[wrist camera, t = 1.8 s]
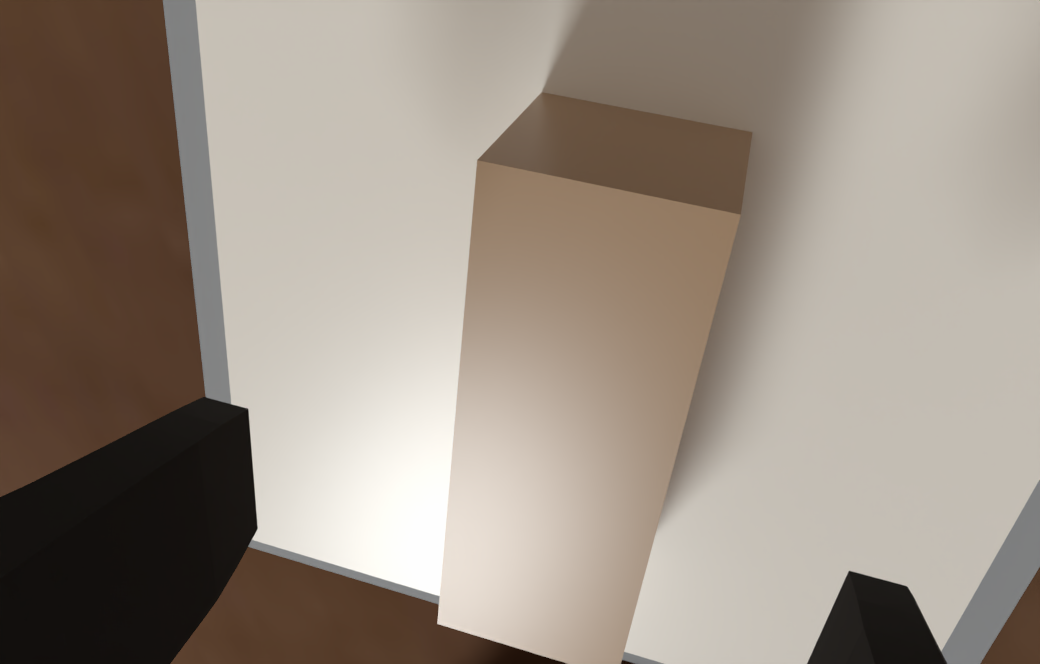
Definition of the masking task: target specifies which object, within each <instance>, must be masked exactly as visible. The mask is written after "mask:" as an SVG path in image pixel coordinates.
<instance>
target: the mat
mask: <svg viewBox="0 0 1040 664" xmlns="http://www.w3.org/2000/svg"><path fill="white" fill-rule="evenodd" d="M163 5H164V14H165V24H166V33H167V42H168V51H169V61H170V70H171V79H172V88H173V98H174V107H175V116H176V125H177V135H178V144H179V153H180V162H181V172H182V181H183V190H184V199H185V209H186V218H187V227H188V237H189V246H190V255H191V264H192V274H193V283H194V292H195V301H196V311H197V320H198V329H199V338H200V348H201V357H202V366H203V375H204V385H205V394H206V398H210V399H214V400H218V401H221V402H225V403H229V404H231V395H230V384H229V372H228V361H227V350H226V339H225V327H224V316H223V305H222V294H221V282H220V271H219V260H218V249H217V237H216V226H215V215H214V204H213V192H212V181H211V170H210V159H209V147H208V136H207V125H206V114H205V102H204V91H203V80H202V68H201V57H200V46H199V35H198V23H197V12H196V1H195V0H163ZM248 547H251V548H254V549H258V550H261V551H264V552H268V553H271V554H274V555H278V556H281V557H284V558H288V559H291V560H294V561H297V562H301V563H304V564H307V565H311V566H314V567H317V568H321V569H324V570H327V571H331V572H334V573H337V574H340V575H344V576H347V577H350V578H354V579H357V580H360V581H364V582H367V583H370V584H374V585H377V586H380V587H383V588H387V589H390V590H393V591H397V592H400V593H403V594H407V595H410V596H413V597H417V598H420V599H423V600H426V601H430V602H433V603H436V604H439V599H440V596H437V595H434V594H431V593H427V592H424V591H421V590H417V589H414V588H411V587H407V586H404V585H401V584H397V583H394V582H391V581H387V580H384V579H381V578H377V577H374V576H371V575H367V574H364V573H361V572H357V571H354V570H351V569H347V568H344V567H341V566H337V565H334V564H331V563H327V562H324V561H321V560H318V559H314V558H311V557H308V556H304V555H301V554H298V553H294V552H291V551H288V550H284V549H281V548H278V547H274V546H271V545H268V544H264V543H261V542H258V541H254V540H251V542H250V544H249V546H248ZM1039 567H1040V480H1039V482H1038V483H1037V485H1036V487H1035V488H1034V490H1033V492H1032V494H1031V495H1030V497H1029V499H1028V501H1027V502H1026V504H1025V506H1024V508H1023V509H1022V511H1021V513H1020V515H1019V516H1018V518H1017V520H1016V522H1015V523H1014V525H1013V527H1012V529H1011V530H1010V532H1009V534H1008V536H1007V537H1006V539H1005V541H1004V543H1003V544H1002V546H1001V548H1000V550H999V551H998V553H997V555H996V557H995V558H994V560H993V562H992V564H991V565H990V567H989V569H988V571H987V572H986V574H985V576H984V578H983V579H982V581H981V583H980V585H979V586H978V588H977V590H976V592H975V593H974V595H973V597H972V599H971V600H970V602H969V604H968V606H967V607H966V609H965V611H964V613H963V614H962V616H961V618H960V620H959V621H958V623H957V625H956V627H955V628H954V630H953V632H952V634H951V635H950V637H949V639H948V641H947V642H946V644H945V646H944V648H943V649H942V651H941V652H942V654H943V656H944V658H945V660H946V662H947V664H980V663H981V661H982V660H983V658H984V656H985V655H986V653H987V651H988V650H989V648H990V647H991V645H992V643H993V642H994V640H995V639H996V637H997V635H998V634H999V632H1000V630H1001V629H1002V627H1003V626H1004V624H1005V622H1006V621H1007V619H1008V617H1009V616H1010V614H1011V613H1012V611H1013V609H1014V608H1015V606H1016V604H1017V603H1018V601H1019V600H1020V598H1021V596H1022V595H1023V593H1024V591H1025V590H1026V588H1027V587H1028V585H1029V583H1030V582H1031V580H1032V578H1033V577H1034V575H1035V574H1036V572H1037V570H1038V569H1039ZM622 660H625V661H628V662H632V663H635V664H663V663H660V662H657V661H653V660H650V659H647V658H644V657H640V656H637V655H634V654H630V653H627V652H624V654H623V658H622Z"/></svg>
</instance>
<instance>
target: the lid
mask: <svg viewBox="0 0 1040 664" xmlns="http://www.w3.org/2000/svg"><path fill="white" fill-rule="evenodd" d="M195 1H196V12H197V23H198V35H199V46H200V57H201V68H202V80H203V91H204V102H205V114H206V125H207V136H208V147H209V159H210V170H211V181H212V192H213V204H214V215H215V226H216V237H217V249H218V260H219V271H220V282H221V294H222V305H223V316H224V327H225V339H226V350H227V361H228V372H229V384H230V395H231V404H232V405H236V406H240V407H244V408H247V409H248V411H249V424H250V437H251V449H252V462H253V475H254V488H255V501H256V513H257V526H258V529H257V531H256V533H255V535H254V537H253V538H252V540H254V541H258V542H261V543H264V544H268V545H271V546H274V547H278V548H281V549H284V550H288V551H291V552H294V553H298V554H301V555H304V556H308V557H311V558H314V559H318V560H321V561H324V562H327V563H331V564H334V565H337V566H341V567H344V568H347V569H351V570H354V571H357V572H361V573H364V574H367V575H371V576H374V577H377V578H381V579H384V580H387V581H391V582H394V583H397V584H401V585H404V586H407V587H411V588H414V589H417V590H421V591H424V592H427V593H431V594H434V595H437V596H440V599H439V611H438V623H437V624H440V625H443V626H446V627H450V628H453V629H456V630H459V631H463V632H466V633H469V634H472V635H476V636H479V637H482V638H485V639H489V640H492V641H495V642H499V643H502V644H505V645H508V646H512V647H515V648H518V649H521V650H525V651H528V652H531V653H534V654H538V655H541V656H544V657H547V658H551V659H554V660H557V661H561V662H564V663H567V664H621V661H622V658H623V654H624V652H627V653H630V654H634V655H637V656H640V657H644V658H647V659H650V660H653V661H657V662H660V663H663V664H807V663H808V660H809V658H810V656H811V654H812V652H813V649H814V647H815V645H816V643H817V640H818V638H819V636H820V634H821V632H822V629H823V627H824V625H825V623H826V620H827V618H828V616H829V614H830V612H831V609H832V607H833V605H834V603H835V600H836V598H837V596H838V594H839V592H840V589H841V587H842V585H843V583H844V580H845V578H846V576H847V574H848V572H849V571H852V572H856V573H860V574H864V575H867V576H871V577H875V578H878V579H882V580H886V581H890V582H893V583H897V584H901V585H904V586H907V587H908V588H909V590H910V592H911V593H912V595H913V596H914V598H915V600H916V602H917V604H918V606H919V608H920V610H921V612H922V614H923V616H924V618H925V620H926V622H927V624H928V626H929V628H930V630H931V632H932V634H933V636H934V638H935V640H936V642H937V644H938V646H939V648H940V650H941V651H942V649H943V648H944V646H945V644H946V642H947V641H948V639H949V637H950V635H951V634H952V632H953V630H954V628H955V627H956V625H957V623H958V621H959V620H960V618H961V616H962V614H963V613H964V611H965V609H966V607H967V606H968V604H969V602H970V600H971V599H972V597H973V595H974V593H975V592H976V590H977V588H978V586H979V585H980V583H981V581H982V579H983V578H984V576H985V574H986V572H987V571H988V569H989V567H990V565H991V564H992V562H993V560H994V558H995V557H996V555H997V553H998V551H999V550H1000V548H1001V546H1002V544H1003V543H1004V541H1005V539H1006V537H1007V536H1008V534H1009V532H1010V530H1011V529H1012V527H1013V525H1014V523H1015V522H1016V520H1017V518H1018V516H1019V515H1020V513H1021V511H1022V509H1023V508H1024V506H1025V504H1026V502H1027V501H1028V499H1029V497H1030V495H1031V494H1032V492H1033V490H1034V488H1035V487H1036V485H1037V483H1038V482H1039V480H1040V0H195Z"/></svg>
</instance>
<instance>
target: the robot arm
mask: <svg viewBox="0 0 1040 664" xmlns="http://www.w3.org/2000/svg"><path fill="white" fill-rule="evenodd" d="M257 529H258V526H257V513H256V501H255V488H254V475H253V462H252V449H251V437H250V424H249V411H248V409H247V408H244V407H240V406H236V405H232V404H229V403H225V402H221V401H218V400H214V399H210V398H206V397H203V398H200V399H198V400H196V401H194V402H192V403H190V404H187V405H185V406H183V407H181V408H179V409H177V410H175V411H173V412H171V413H169V414H167V415H165V416H163V417H161V418H159V419H157V420H155V421H153V422H151V423H149V424H147V425H145V426H143V427H141V428H139V429H137V430H135V431H133V432H132V433H130V434H128V435H126V436H124V437H122V438H120V439H118V440H116V441H114V442H112V443H110V444H108V445H106V446H104V447H102V448H100V449H98V450H96V451H94V452H92V453H90V454H88V455H86V456H84V457H82V458H80V459H78V460H76V461H74V462H72V463H70V464H68V465H66V466H64V467H62V468H60V469H58V470H56V471H54V472H52V473H50V474H48V475H46V476H44V477H42V478H40V479H38V480H36V481H34V482H32V483H30V484H28V485H26V486H24V487H22V488H19V489H17V490H15V491H13V492H11V493H8V494H6V495H4V496H2V497H0V664H170V663H171V662H172V660H173V659H174V658H175V656H176V655H177V654H178V652H179V651H180V650H181V648H182V647H183V646H184V644H185V643H186V642H187V640H188V639H189V638H190V636H191V635H192V634H193V632H194V631H195V630H196V628H197V627H198V626H199V624H200V623H201V622H202V620H203V619H204V618H205V616H206V615H207V613H208V612H209V611H210V609H211V608H212V606H213V605H214V604H215V602H216V601H217V599H218V598H219V596H220V594H221V593H222V591H223V589H224V588H225V586H226V584H227V583H228V581H229V579H230V578H231V576H232V574H233V573H234V571H235V569H236V567H237V566H238V564H239V562H240V560H241V558H242V557H243V555H244V553H245V551H246V549H247V548H248V546H249V544H250V542H251V540H252V538H253V537H254V535H255V533H256V531H257ZM807 664H947V662H946V660H945V658H944V656H943V654H942V652H941V650H940V648H939V646H938V644H937V642H936V640H935V638H934V636H933V634H932V632H931V630H930V628H929V626H928V624H927V622H926V620H925V618H924V616H923V614H922V612H921V610H920V608H919V606H918V604H917V602H916V600H915V598H914V596H913V595H912V593H911V592H910V590H909V588H908V587H907V586H904V585H901V584H897V583H893V582H890V581H886V580H882V579H878V578H875V577H871V576H867V575H864V574H860V573H856V572H852V571H849V572H848V574H847V576H846V578H845V580H844V583H843V585H842V587H841V589H840V592H839V594H838V596H837V598H836V600H835V603H834V605H833V607H832V609H831V612H830V614H829V616H828V618H827V620H826V623H825V625H824V627H823V629H822V632H821V634H820V636H819V638H818V640H817V643H816V645H815V647H814V649H813V652H812V654H811V656H810V658H809V660H808V663H807Z"/></svg>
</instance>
